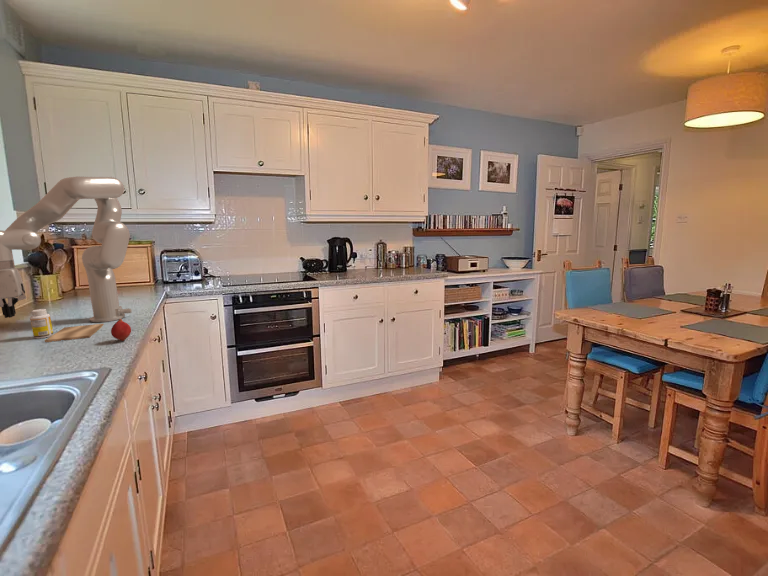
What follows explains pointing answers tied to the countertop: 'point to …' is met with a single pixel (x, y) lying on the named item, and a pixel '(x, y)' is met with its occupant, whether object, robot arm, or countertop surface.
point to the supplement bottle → (41, 324)
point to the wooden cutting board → (75, 332)
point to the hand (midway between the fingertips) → (9, 316)
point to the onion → (120, 330)
